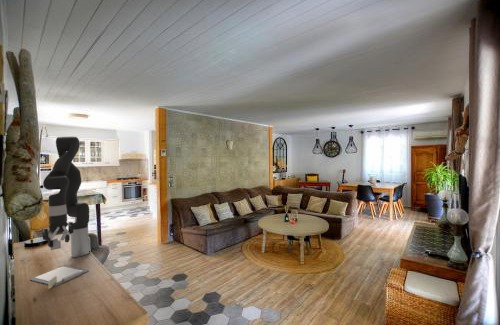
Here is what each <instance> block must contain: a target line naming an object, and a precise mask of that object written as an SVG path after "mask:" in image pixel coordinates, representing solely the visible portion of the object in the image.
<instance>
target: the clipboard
mask: <svg viewBox="0 0 500 325" xmlns="http://www.w3.org/2000/svg"><path fill="white" fill-rule="evenodd" d="M89 271H90V270H88V269H83V268H78V267H74V266H68V265H62V266H60V267H57V268H54V269H52V270H50V271H47V272H45V273H42V274H40V275H37V276H34V277H32V278H30V279H29V281H31V280H32V281H31V282H35V283H40V284H43V283H44V284H45V285H47V286H48V281H49V280H51V279H52V278H53V277H55V276H57V282H56V283H55V284H54V285H53V287H54V288H55V287H58V286H60V285H63V284H64V283H67V282H68V281H70V280H71V281H72V280H73V279H76V278H78V277H79V276H81V275H85V274H86V273H89ZM44 284H43V285H44Z"/></svg>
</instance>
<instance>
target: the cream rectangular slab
mask: <svg viewBox="0 0 500 325" xmlns="http://www.w3.org/2000/svg"><path fill="white" fill-rule="evenodd" d="M56 282H57V276H55V277H53V278H52V279H51V280H49V281H48V285H47V286H48V289H49V290H50V289H52V287H54V286H53V285H54V284H55V283H56Z"/></svg>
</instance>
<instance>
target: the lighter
mask: <svg viewBox="0 0 500 325" xmlns="http://www.w3.org/2000/svg"><path fill="white" fill-rule="evenodd" d="M62 233H63V232H62ZM66 235H67V233H66V232H64V233H63V234H62V235H61V238H60V239H58V238H53V239H52V240H53V247H50V251H55V250H58V249H62V243H61V242H62V241H65V237H66Z"/></svg>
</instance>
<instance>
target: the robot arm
mask: <svg viewBox="0 0 500 325" xmlns="http://www.w3.org/2000/svg"><path fill="white" fill-rule="evenodd" d="M55 146H56V151H57V155H58V158H57V159H56V161H55V162H54V164H53V168H52V170H51V171H50V172H49V173H48V174H47V175H46V177H45V178H44V179H43V183H42V185H43V188H45V189H46V190H49V191H53V190H56V191H57V190H59V192H57V193H53V194H50V195H48V224H49V225H48V227H45V228H42V229H41V234H42V240H43V241H47V246H48V247H49V248H51V247H53V239H55V237H56V235H57V234H60V233H64V232H66V233H67V235H66V237H65V239H64V242H65V243H69V242H70V249H71V250H70V251H71V254H70V255H71V257H72V258H79V257H83V256H86V255H88V254H90V253H91V251H92V250H91V237H90V236H89V224H90V205H89V204H88V203H86V202H79V201H78V192H79V190H80V187H81V184H82V175H81V170H80V169H79V168H78V167H77V166H76V165H75V164H74V163H73V160H74V158H75V157H76V155H77V153H78V152H79V151H80V150H79V149H80V146H81V143H80V140H79V138H78V136H74V135H71V136H69V135H68V136H58V137H56V139H55ZM68 217H70V218H76V219H75V222H73V221H68ZM67 227H68V228H67ZM49 231H50V232H49ZM89 251H90V252H89Z"/></svg>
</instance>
